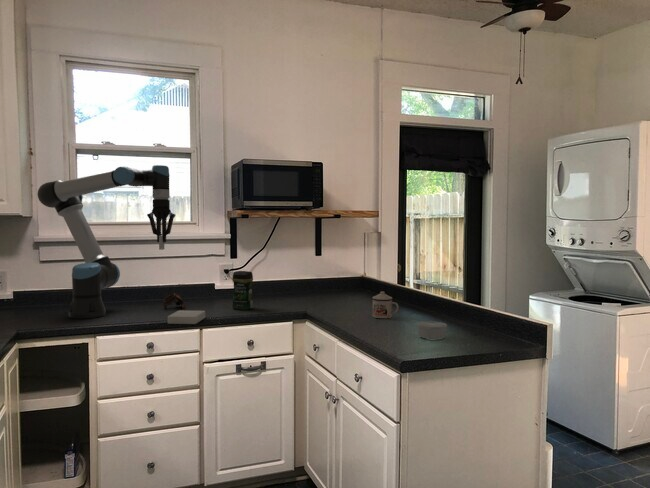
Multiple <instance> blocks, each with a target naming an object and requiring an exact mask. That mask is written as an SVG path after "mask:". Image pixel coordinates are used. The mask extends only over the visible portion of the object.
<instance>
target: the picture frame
mask: <svg viewBox="0 0 650 488" xmlns="http://www.w3.org/2000/svg"><path fill="white" fill-rule="evenodd" d="M204 319H206V310H184V309H182V310H181V309H180V310H177V311H175V312H173V313H171V314H169V315H168V316H167V324H170V325H171V324H173V325H174V324H175V325H178V324H179V325H197V324H198V323H199V322H201V321H202V320H204Z"/></svg>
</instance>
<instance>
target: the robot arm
mask: <svg viewBox="0 0 650 488" xmlns="http://www.w3.org/2000/svg"><path fill="white" fill-rule="evenodd" d="M123 186H129V187H136V188H137V187H152V198H153V199H152V210H151V212H150V213H147V214H146V216H147V217H148V219H149V223H150V228H151V232H152V234H153V235H155V236H156V242H157V243H158V249H159V250H160V251H161V250H165V243H166V242H167V236H168V235H170V234H171V233H172V231H171V230H172V227H173V222H174V219H175V217H176V214H175V213H173V212H172V211H171V209H170V208H171V207H170V206H171V204H170V202H171V201H170V197H171V196H170V194H171V193H170V168H169V167H168V165H162V164H161V165H160V164H154V165H152V167H151V169H137V168H132V167H128V166H118V167H116V168H115V169H112V170H107V171H104V172H100V173H95V174H90V175H88V176H87V175H86V176H82V177H79V178H78V177H77V178H74V179H69V180H65V181H63V180H60V179H59V180H53V181H50V182H48V181H47V182H45V183H43V184H41V185H40V186H39V187H38V190H37V193H36V194H37V199H38V201H39V202H40V204H42V205H43V206H45V207H46V208H47V207H48V208H52V209H53V208H54V209H55V211H56V213H57V215H58V216H60V217H62V218H63V219H64V221H65V223H66V225H67V228H68V229H69V232H70V233H71V235H72V238H73V240H74V242H75V244H76V246H77V247H78V250H79V252H80V253H81V256H82V258H83V260H84V263H83V262H82V263H77V264H75V265H74V266H72V269H71V271H72V272H71V281H72V282H71V283H72V289H71V290H72V301H71V303H70V308H69V310H68V318H71V319H78V320H79V319H81V320H82V319H83V320H84V319H93V318H100V317H103V316H106V314H107V313H106V312H107V311H106V310H107V309H106V307H105V304H104V302H103V299H102V290H103V289H108V288H111V287H112V286H114V285H116V284H117V283H118V282H119V280H120V276H121V270H120V268H119V266H118V265H117V264H116V263H113V262H112V261H111V259H110V258H109V256H108V255H106V254H104V253H103V251H102V249H101V246H100V245H99V243H98V241H97V239H96V236H95V235H94V233H93V231H92V228H91V227H90V225H89V223H88V220H87V219H86V216H85V214H84V212H83V208H84V205H83V198H84V195H87V194H94V193H95V192H96V193H97V192H101V191H105V190H110V189H113V188H114V189H115V188H118V187H123ZM154 217H155V218H154ZM168 217H169V218H168ZM167 220H168V222H167Z"/></svg>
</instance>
